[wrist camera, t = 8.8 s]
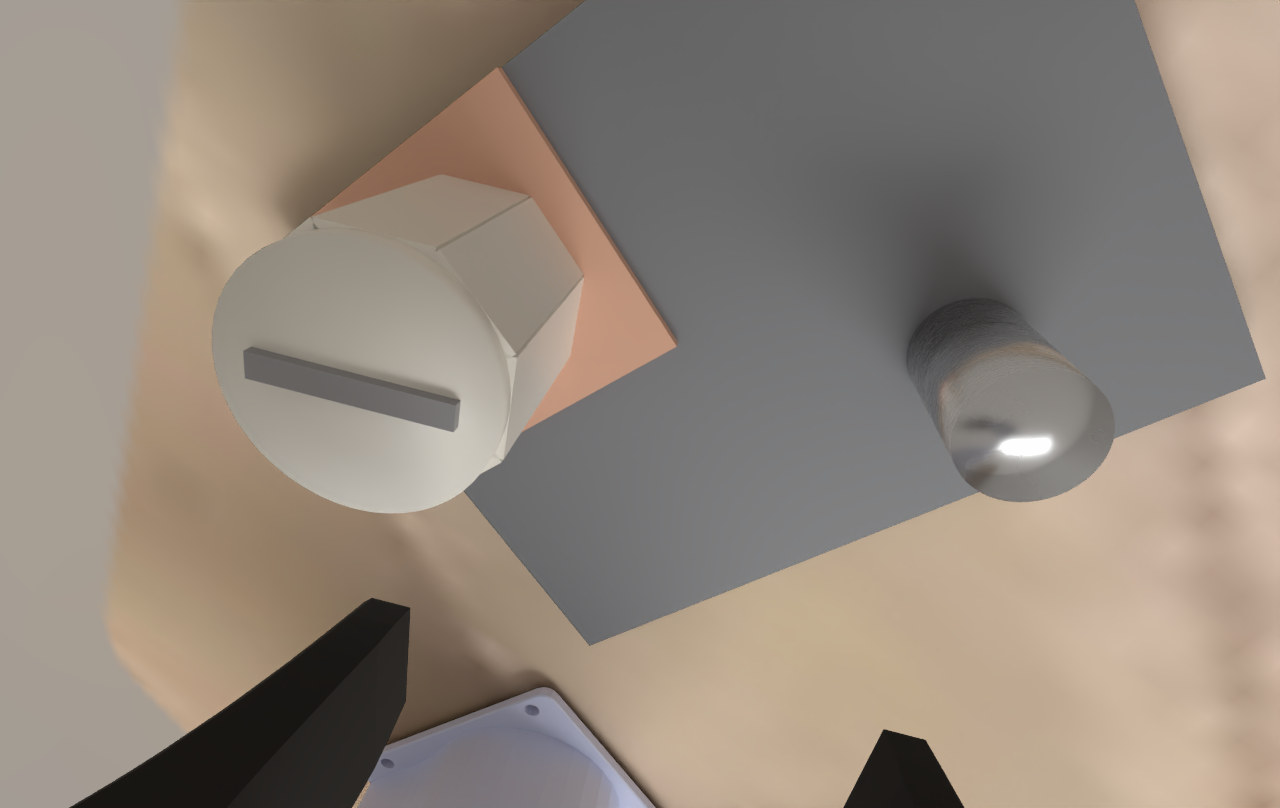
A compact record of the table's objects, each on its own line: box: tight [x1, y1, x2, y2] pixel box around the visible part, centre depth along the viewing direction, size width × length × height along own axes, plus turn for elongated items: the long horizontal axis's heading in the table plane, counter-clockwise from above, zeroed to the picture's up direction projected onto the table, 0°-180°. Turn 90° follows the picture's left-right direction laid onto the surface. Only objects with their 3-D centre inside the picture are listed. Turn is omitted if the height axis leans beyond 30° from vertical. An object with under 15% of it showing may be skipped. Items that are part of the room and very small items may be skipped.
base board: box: [464, 0, 1266, 646], centre depth 16 cm, size 18×14×1 cm
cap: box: [212, 174, 584, 514], centre depth 14 cm, size 5×5×6 cm
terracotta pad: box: [311, 67, 678, 432], centre depth 17 cm, size 7×7×1 cm
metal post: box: [907, 298, 1115, 502], centre depth 14 cm, size 3×3×4 cm
